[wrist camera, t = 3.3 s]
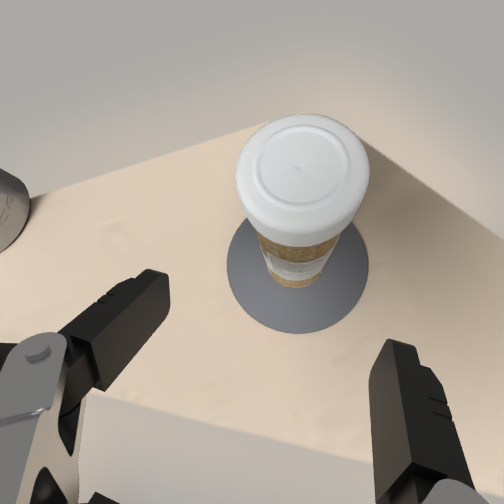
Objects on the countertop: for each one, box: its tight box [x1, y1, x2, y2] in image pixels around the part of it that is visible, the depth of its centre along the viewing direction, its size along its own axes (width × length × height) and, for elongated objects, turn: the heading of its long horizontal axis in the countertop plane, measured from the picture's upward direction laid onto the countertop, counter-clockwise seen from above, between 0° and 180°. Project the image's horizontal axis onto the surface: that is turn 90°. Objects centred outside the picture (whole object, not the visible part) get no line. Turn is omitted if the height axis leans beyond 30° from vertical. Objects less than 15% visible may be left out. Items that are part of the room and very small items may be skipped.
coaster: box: [227, 218, 368, 334], centre depth 22 cm, size 11×11×1 cm
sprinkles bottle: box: [235, 114, 370, 288], centre depth 16 cm, size 5×5×13 cm
